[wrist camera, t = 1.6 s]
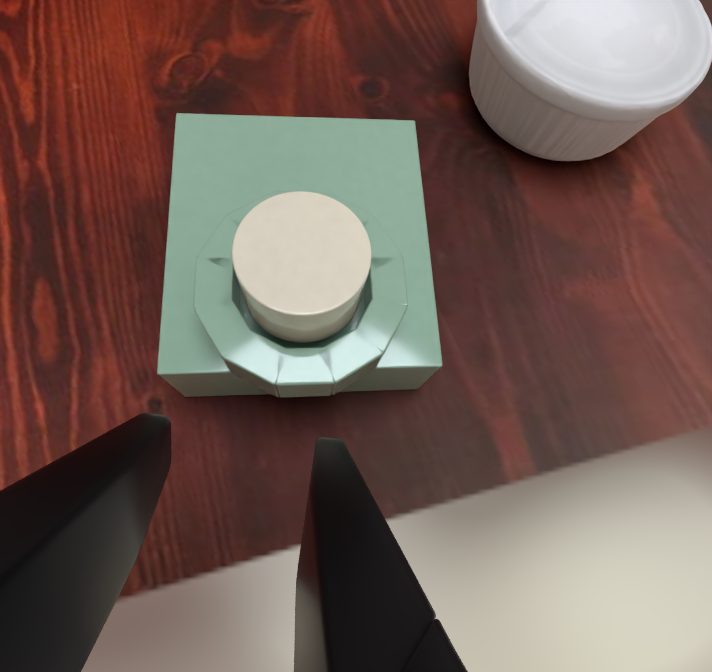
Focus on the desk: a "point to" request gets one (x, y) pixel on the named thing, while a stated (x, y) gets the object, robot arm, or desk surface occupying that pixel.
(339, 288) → the cream cylindrical button
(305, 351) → the button base
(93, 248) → the desk surface
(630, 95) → the ramekin
